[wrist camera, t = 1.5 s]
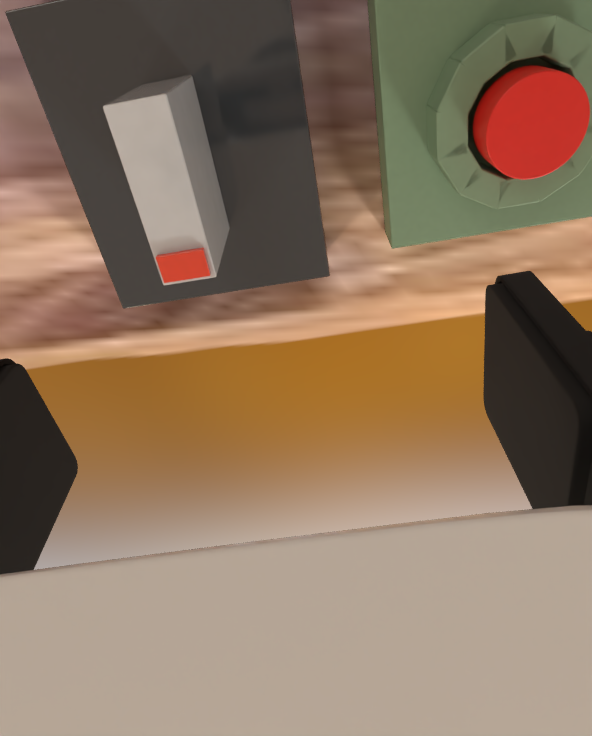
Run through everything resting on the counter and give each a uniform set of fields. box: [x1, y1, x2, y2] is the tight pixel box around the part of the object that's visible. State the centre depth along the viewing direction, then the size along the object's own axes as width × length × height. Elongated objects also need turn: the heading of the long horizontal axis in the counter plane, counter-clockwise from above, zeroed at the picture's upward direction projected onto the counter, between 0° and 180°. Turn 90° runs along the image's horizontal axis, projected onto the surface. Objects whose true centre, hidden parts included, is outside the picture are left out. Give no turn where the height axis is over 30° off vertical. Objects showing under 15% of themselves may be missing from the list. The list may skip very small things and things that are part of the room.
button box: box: [367, 0, 592, 248], centre depth 22 cm, size 10×10×4 cm
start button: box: [473, 65, 590, 180], centre depth 20 cm, size 4×4×2 cm
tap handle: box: [103, 75, 230, 285], centre depth 19 cm, size 6×2×5 cm, turn 10°
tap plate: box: [5, 0, 330, 308], centre depth 23 cm, size 12×10×3 cm
